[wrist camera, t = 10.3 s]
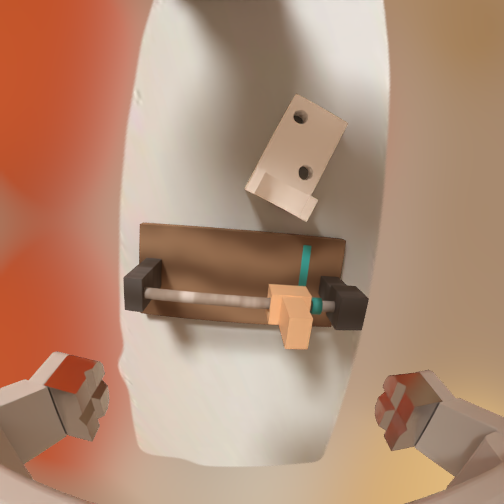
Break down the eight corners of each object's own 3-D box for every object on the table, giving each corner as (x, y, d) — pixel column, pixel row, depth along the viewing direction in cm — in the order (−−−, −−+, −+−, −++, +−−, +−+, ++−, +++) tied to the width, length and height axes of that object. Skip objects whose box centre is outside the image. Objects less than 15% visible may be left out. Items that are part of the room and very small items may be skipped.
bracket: (294, 214, 39) (306, 221, 32) (244, 188, 38) (245, 189, 31) (339, 127, 37) (360, 117, 29) (291, 100, 36) (303, 83, 28)
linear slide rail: (143, 222, 38) (110, 237, 28) (342, 238, 40) (376, 258, 29) (143, 308, 41) (116, 347, 30) (328, 322, 42) (353, 363, 32)
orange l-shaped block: (268, 284, 33) (277, 315, 25) (305, 286, 33) (324, 317, 25) (265, 311, 34) (273, 349, 26) (301, 313, 34) (318, 350, 26)
